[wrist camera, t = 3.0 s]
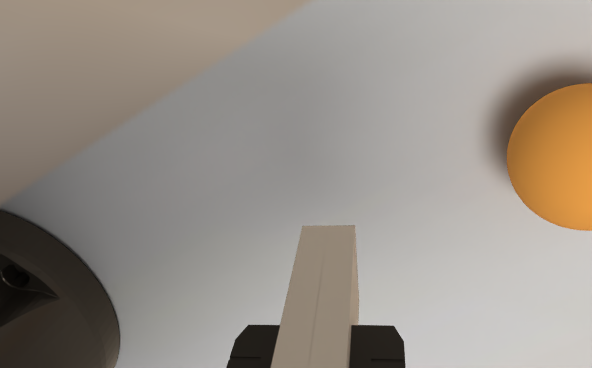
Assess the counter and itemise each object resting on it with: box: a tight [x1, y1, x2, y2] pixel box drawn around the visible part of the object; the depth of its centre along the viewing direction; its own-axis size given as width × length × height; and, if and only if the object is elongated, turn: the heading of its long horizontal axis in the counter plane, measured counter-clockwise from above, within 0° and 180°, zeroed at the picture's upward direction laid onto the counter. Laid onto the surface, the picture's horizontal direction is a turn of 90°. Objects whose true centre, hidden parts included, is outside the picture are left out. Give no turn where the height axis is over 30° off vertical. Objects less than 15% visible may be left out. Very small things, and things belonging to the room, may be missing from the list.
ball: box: [507, 83, 592, 231], centre depth 21 cm, size 6×6×6 cm
